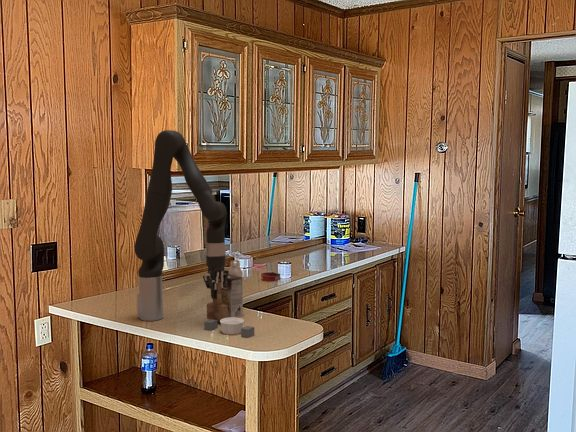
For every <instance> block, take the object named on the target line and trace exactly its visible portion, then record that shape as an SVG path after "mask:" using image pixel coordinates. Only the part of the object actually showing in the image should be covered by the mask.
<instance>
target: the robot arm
mask: <svg viewBox="0 0 576 432" xmlns="http://www.w3.org/2000/svg"><path fill="white" fill-rule="evenodd" d="M174 159H175V161H176V162H177V163H178V165H179V167H180V169H181V171H182V174H183V176H184V180H185V183H186V185H187V187H188V189H189V190H190V192H191V193H192V195H193V196H194V198H195V199H196V201H197V205H198V206H199V209H200V211H201V213H202V215H203V216H204V218H205V219H206V220H208V221H209V223H208V224H209V225H208V227H207V229H206V233H205V234H206V235H205V236H206V238H205V239H206V245H205V264H206V265H205V266H206V267H207V269H208V270H207V273H206V275H203V276H202V279H203V281H204V284H205V287H206V289H210V297H211V299H212V300H213V299H217V290H216V289H217V283H218V281H221V297H222V287H223V286H224V285H226V281H227V278H228V274H229V271H228V270H226V269H225V267H226V265H227V264H226V262H227V260H226V259H227V258H226V257H227V256H226V253H227V252H226V240H225V239H226V238H225V237H226V235H225V234H226V233H225V229H226V225H227V224H226V223H227V217H228V215H227V213H228V211H227V207H226V206H225V204H224V203H223V202H222V201H216V200H215V197H214V195H213V193H214V192H213V188H212V187H211V186H210V184H209V183H208V181H207V179H206V178H205V177H204V175H203V174H202V172H201V170H200V169H199V167H198V165H197V163H196V162H195V159H194V158H193V155H192V154H191V151H190V149H189V146H188V144H187V142H186V139H185V138H184V135H182V133H181V132H179V131H176V130H170V129H166V130H162V131H160V132H159V133H158V134H157V136H156V138H155V142H154V150H153V162H152V169H151V171H150V172H151V173H150V177H149V182H148V185H147V190H146V195H145V202H144V207H143V212H142V217H141V223H140V226H139V228H138V233H137V235H136V239H135V242H134V247H133V248H134V253H135V255H136V258H137V259H139V260H141V261H142V262H141V265H140V267H139V268H138V271H137V272H138V273H137V274H138V294H137V296H136V299H137V300H136V301H137V318H138V319H140V320H142V321H145V322H152V321H158V320H162V319H163V318H164V299H163V297H164V296H163V295H164V293H163V292H164V291H163V287H164V286H163V270H164V266H165V245H164V241H163V240H162V238H161V237H160V236H159V235H158V232H159V229H160V225H161V223H162V221H163V219H164V218H165V216H166V214H167V211H168V209H169V206H170V204H171V203H170V202H171V198H172V193H173V182H172V173H171V172H172V171H171V169H172V164H173V160H174ZM223 279H224V282H223ZM213 283H214V286H213Z"/></svg>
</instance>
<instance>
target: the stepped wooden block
mask: <svg viewBox="0 0 576 432" xmlns="http://www.w3.org/2000/svg"><path fill="white" fill-rule="evenodd" d="M213 286H214V283H213ZM216 290H217V299H212V301H211V302H207V303H206V320H210V319H213V320H217V322H220V320H221V319H224V318H228V305H225V304H222V301H221V281H218V283H217V289H216Z"/></svg>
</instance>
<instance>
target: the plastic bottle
mask: <svg viewBox="0 0 576 432" xmlns="http://www.w3.org/2000/svg"><path fill="white" fill-rule="evenodd" d="M229 265H230V267H229V269H228V270H227V271H229V274H231V275H235V276H239V277H243V270H242V269H241V267H240V260H236V259H235V260H230V264H229ZM243 305H244V297H242V306H243Z"/></svg>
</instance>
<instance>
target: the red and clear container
mask: <svg viewBox="0 0 576 432" xmlns="http://www.w3.org/2000/svg"><path fill="white" fill-rule="evenodd" d="M263 266H264V267H265V268H266V269H267V270H269V271H270V272H269V271H268V272H262V273H261V274H260V275H261V276H260V277H261V278H260V279H261V281H262V282H267V283H270V282H271V283H272V282H273V283H274V281H275V282H279V281H281V273H280V272H277V271H275V270H272V269H271V268H268V267H267V266H266V265H265V264H263ZM278 280H279V281H278Z"/></svg>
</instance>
